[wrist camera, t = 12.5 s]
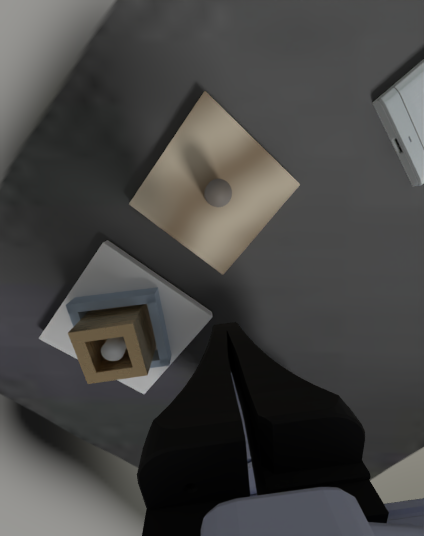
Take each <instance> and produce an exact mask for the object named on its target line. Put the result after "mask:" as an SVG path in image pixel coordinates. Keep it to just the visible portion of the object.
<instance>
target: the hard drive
mask: <svg viewBox="0 0 424 536" xmlns="http://www.w3.org/2000/svg"><path fill="white" fill-rule="evenodd" d="M373 105H374V107H375V109H376V111H377V114H378V116H379V118H380V120H381V122H382V124H383V126H384V128H385V130H386V132H387V134H388V136H389V138H390V140H391V143H392V145H393V147H394V149H395V151H396V153H397V155H398V157H399V159H400V161H401V163H402V165H403V167H404V169H405V172H406V174H407V176H408V178H409V180H410V182H411V184H412V186H421V185H422V184H424V59H423V60H422V61H421V62H419V63H418V64H417V65H416V66H415V67H414V68H412V69H411V70H410V71H409V72H408V73H406V74H405V75H404V76H403V77H402V78H401V79H399V80H398V81H397V82H396V83H395V84H394V85H392V86H391V87H390V88H389V89H388V90H387V91H385V92H384V93H383V94H382V95H381V96H379V97H378V98H377V99H376V100H375V101H374V102H373Z"/></svg>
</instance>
